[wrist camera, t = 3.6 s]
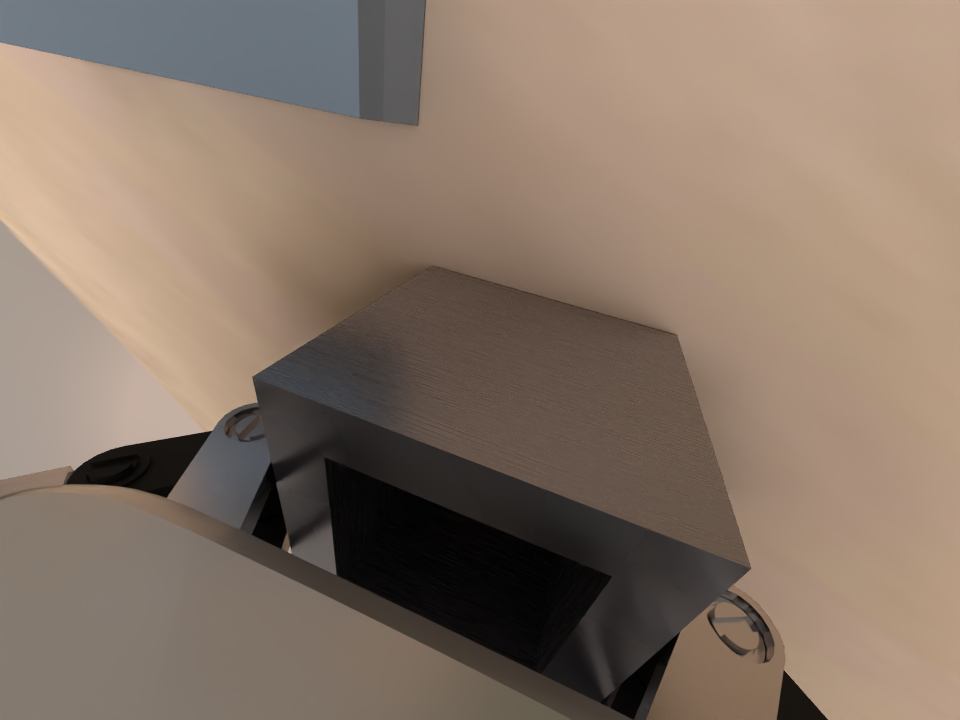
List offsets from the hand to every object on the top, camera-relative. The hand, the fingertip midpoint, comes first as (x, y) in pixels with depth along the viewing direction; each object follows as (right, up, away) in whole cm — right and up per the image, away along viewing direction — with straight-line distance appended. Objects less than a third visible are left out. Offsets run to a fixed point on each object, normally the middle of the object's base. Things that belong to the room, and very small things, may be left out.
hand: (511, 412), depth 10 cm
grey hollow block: (0, 0, +1) cm, 1 cm away
